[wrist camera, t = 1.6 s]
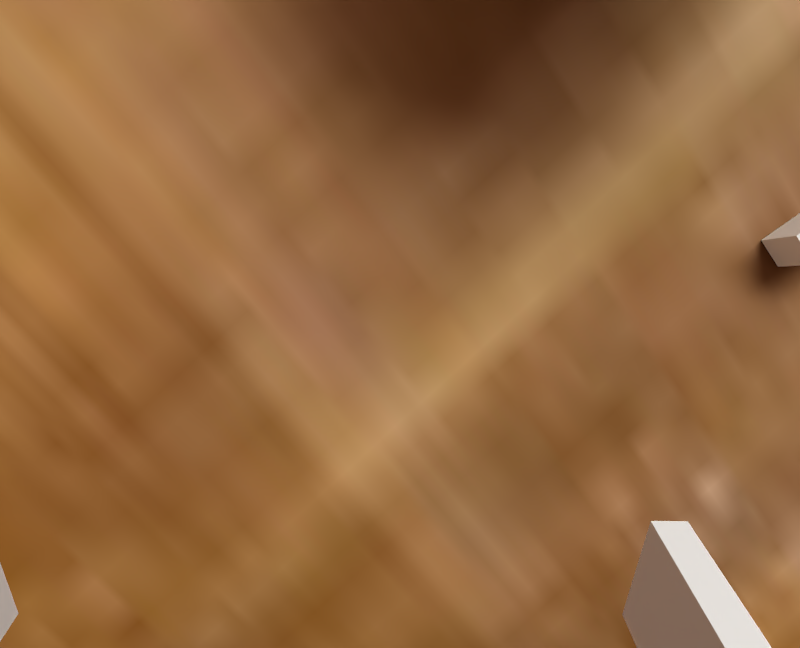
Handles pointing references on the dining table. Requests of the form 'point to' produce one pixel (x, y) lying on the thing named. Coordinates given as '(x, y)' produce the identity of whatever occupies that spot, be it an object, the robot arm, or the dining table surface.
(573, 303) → the dining table surface
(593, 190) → the dining table surface
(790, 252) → the duct rack
